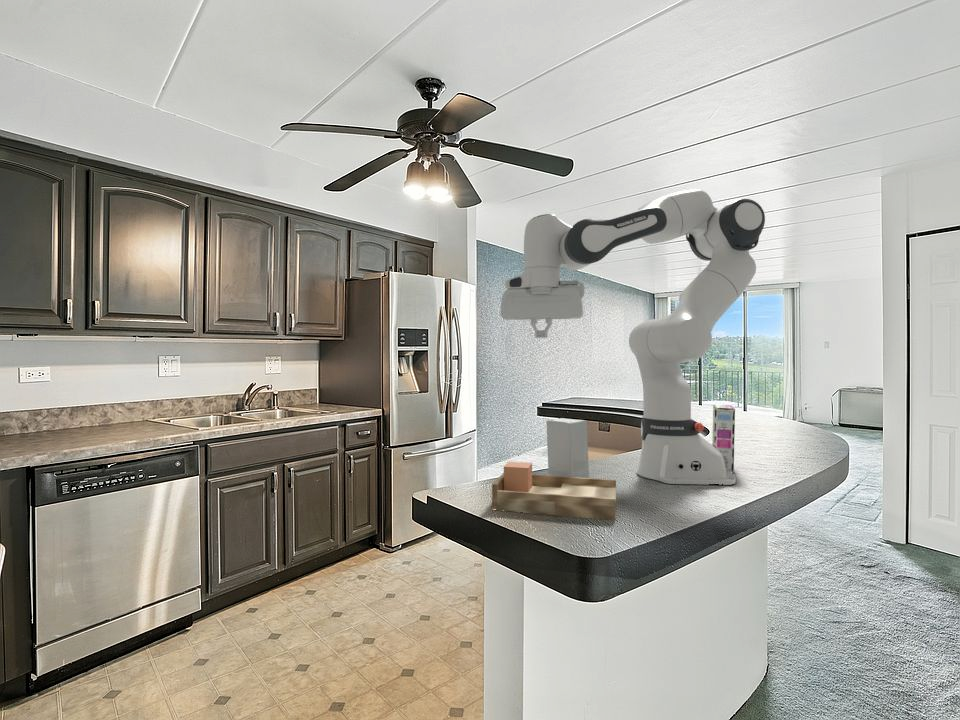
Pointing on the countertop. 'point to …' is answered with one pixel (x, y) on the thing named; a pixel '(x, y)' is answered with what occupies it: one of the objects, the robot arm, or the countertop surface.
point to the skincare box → (567, 448)
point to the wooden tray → (560, 497)
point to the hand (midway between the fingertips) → (541, 337)
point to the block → (518, 476)
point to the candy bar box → (724, 433)
